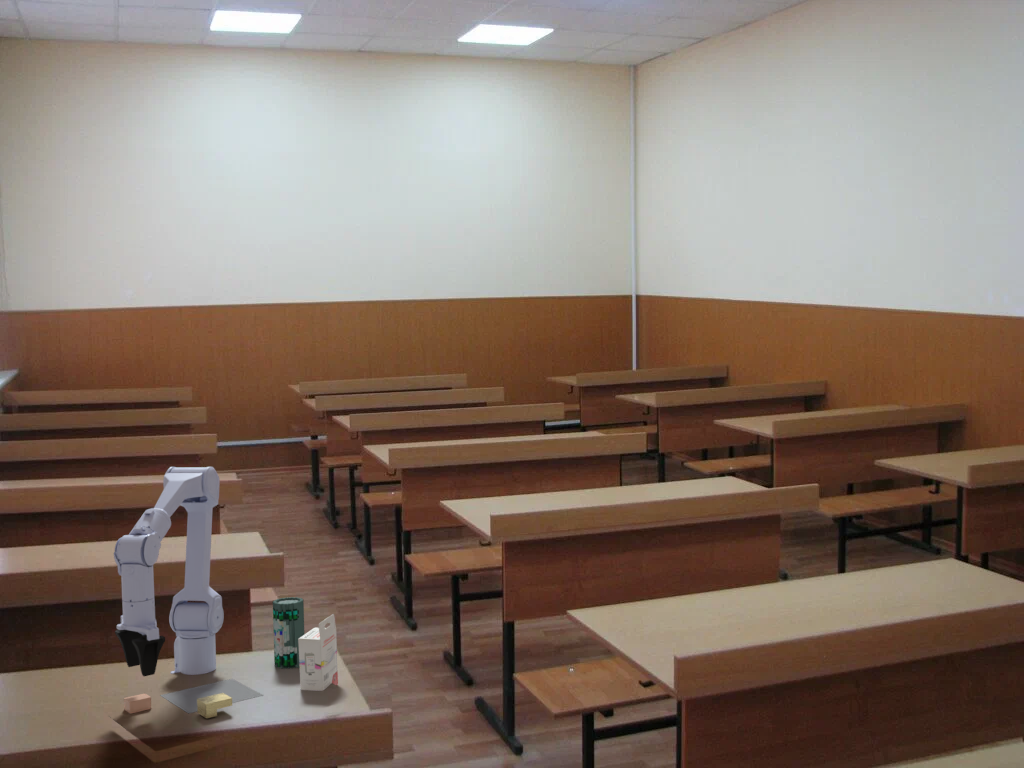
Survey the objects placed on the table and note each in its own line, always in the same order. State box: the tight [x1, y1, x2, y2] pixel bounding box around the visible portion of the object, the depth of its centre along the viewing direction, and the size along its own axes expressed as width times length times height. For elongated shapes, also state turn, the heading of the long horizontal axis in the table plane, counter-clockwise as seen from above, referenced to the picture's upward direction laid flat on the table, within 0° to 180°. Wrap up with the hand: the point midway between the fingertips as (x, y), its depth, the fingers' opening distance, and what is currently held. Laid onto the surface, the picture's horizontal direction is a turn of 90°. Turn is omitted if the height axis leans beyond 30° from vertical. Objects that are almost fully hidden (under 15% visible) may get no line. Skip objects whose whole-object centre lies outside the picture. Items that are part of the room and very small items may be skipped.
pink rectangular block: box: [108, 693, 152, 729], centre depth 201 cm, size 9×8×4 cm
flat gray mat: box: [159, 678, 264, 714], centre depth 208 cm, size 14×15×2 cm
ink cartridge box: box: [298, 613, 339, 692], centre depth 214 cm, size 9×5×15 cm, turn 168°
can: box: [272, 596, 306, 670], centre depth 227 cm, size 6×6×15 cm
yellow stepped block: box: [197, 693, 233, 719], centre depth 197 cm, size 4×5×3 cm
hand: (141, 670), depth 202 cm, fingers open, 7 cm apart
